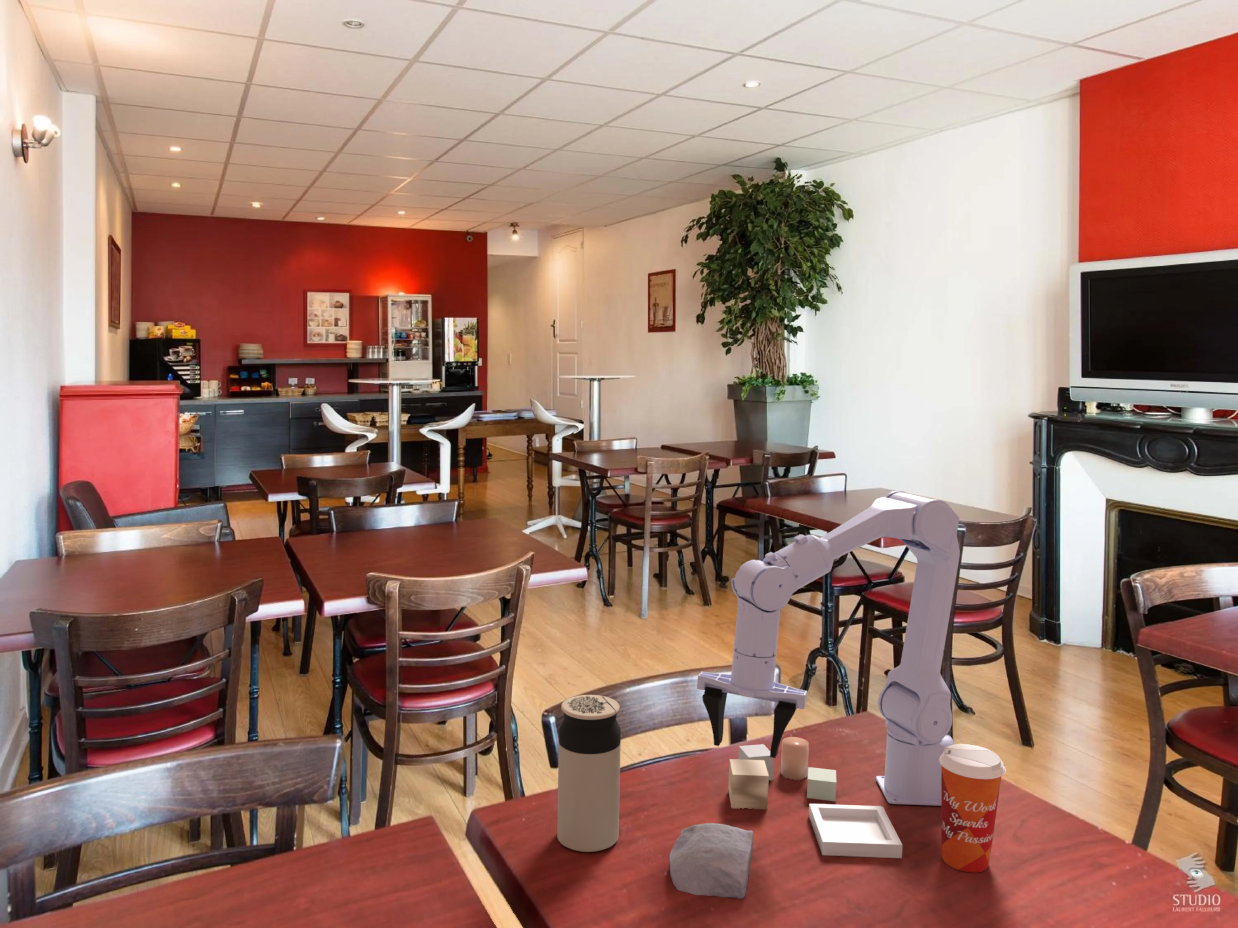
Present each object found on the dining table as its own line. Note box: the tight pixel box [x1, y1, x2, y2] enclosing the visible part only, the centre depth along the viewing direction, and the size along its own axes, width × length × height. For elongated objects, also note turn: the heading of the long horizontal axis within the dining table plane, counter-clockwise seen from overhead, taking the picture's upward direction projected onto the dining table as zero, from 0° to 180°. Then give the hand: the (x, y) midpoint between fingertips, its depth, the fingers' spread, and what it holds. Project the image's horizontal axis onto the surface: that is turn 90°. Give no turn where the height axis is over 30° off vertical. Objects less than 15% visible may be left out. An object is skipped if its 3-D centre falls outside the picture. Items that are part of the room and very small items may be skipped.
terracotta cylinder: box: [780, 736, 810, 781], centre depth 138 cm, size 4×4×5 cm
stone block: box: [668, 822, 754, 900], centre depth 112 cm, size 12×5×10 cm
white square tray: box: [808, 803, 903, 859], centre depth 121 cm, size 10×10×2 cm
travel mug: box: [556, 694, 622, 853], centre depth 118 cm, size 8×8×18 cm
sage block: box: [806, 766, 837, 802], centre depth 133 cm, size 4×4×3 cm
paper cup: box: [939, 743, 1007, 874], centre depth 115 cm, size 8×8×14 cm
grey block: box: [738, 743, 775, 781], centre depth 138 cm, size 4×4×4 cm
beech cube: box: [728, 758, 770, 810], centre depth 130 cm, size 5×5×5 cm
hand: (745, 748), depth 123 cm, fingers open, 7 cm apart
